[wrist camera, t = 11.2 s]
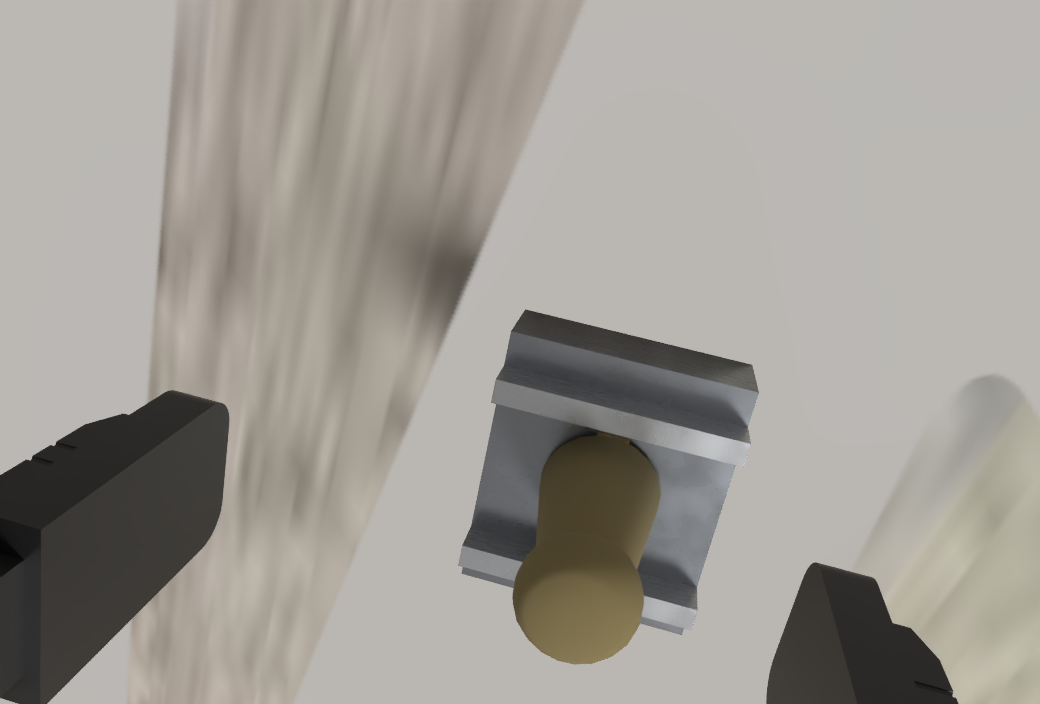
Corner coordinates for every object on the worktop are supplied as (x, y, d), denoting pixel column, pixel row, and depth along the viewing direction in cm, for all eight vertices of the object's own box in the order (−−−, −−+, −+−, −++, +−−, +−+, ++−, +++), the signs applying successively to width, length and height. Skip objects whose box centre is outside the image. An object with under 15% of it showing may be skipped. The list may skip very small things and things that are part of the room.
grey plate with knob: (525, 309, 45) (503, 343, 40) (752, 365, 44) (762, 408, 38) (478, 535, 50) (452, 594, 44) (681, 591, 49) (681, 659, 43)
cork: (562, 555, 45) (525, 701, 34) (523, 452, 43) (472, 572, 33) (676, 530, 43) (673, 675, 33) (639, 421, 42) (624, 538, 31)
